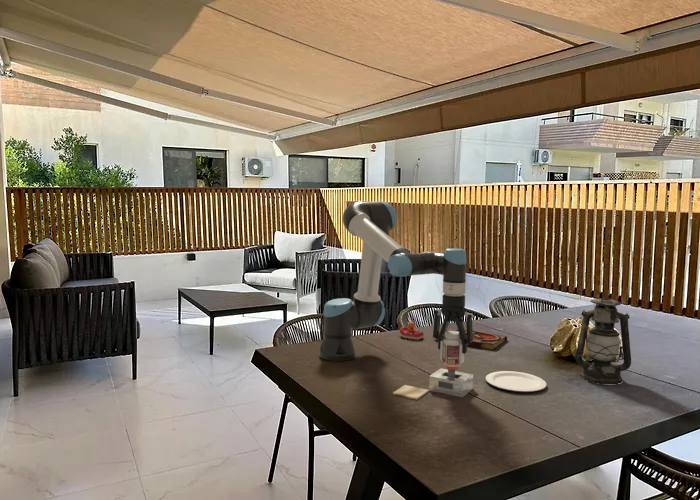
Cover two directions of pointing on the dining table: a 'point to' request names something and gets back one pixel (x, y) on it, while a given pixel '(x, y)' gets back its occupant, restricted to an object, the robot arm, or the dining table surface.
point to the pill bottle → (451, 349)
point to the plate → (516, 381)
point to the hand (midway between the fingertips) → (452, 360)
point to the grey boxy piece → (451, 383)
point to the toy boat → (411, 332)
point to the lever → (451, 371)
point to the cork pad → (410, 392)
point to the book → (482, 339)
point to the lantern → (604, 343)
